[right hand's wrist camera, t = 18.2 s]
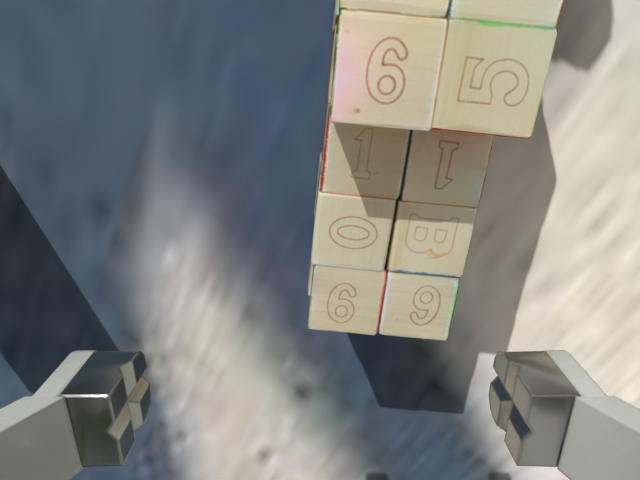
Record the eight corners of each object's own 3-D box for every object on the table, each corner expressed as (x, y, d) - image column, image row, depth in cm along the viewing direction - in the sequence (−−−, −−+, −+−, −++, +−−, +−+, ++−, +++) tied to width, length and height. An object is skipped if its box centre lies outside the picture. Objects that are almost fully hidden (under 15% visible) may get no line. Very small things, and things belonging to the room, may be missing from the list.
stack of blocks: (410, 259, 28) (467, 392, 17) (310, 249, 28) (297, 376, 16) (492, -172, 20) (704, -482, 9) (354, -189, 20) (390, -526, 9)
